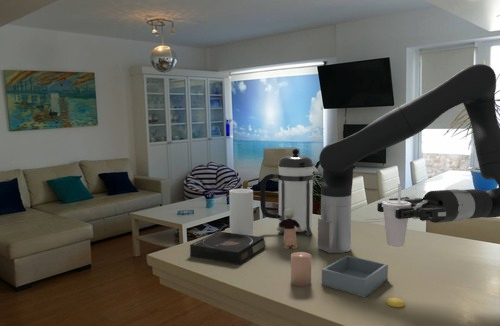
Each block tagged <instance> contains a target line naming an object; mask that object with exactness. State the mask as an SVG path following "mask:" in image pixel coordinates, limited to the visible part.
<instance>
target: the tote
mask: <svg viewBox="0 0 500 326" xmlns="http://www.w3.org/2000/svg"><path fill="white" fill-rule="evenodd" d="M388 272H389V264H388V263H384V262H379V261H375V260H371V259H364V258H361V257H356V256H352V255H345V256H343V257H341V258H339V259H337V260H336V261H334V262H332V263H331V264H329V265H327V266H325V267H323V268H322V269H321V286H324V287H327V288H331V289H335V290H337V291H342V292H345V293H349V294H353V295H357V296H360V297H364V298H366V297H367V296H368V295H370V294H371V293H373V291H375V290H376V289H377V288H379V287H380V286H381V285H384V283H385V282H386V281H388V274H389V273H388Z"/></svg>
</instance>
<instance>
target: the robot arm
mask: <svg viewBox="0 0 500 326" xmlns="http://www.w3.org/2000/svg"><path fill="white" fill-rule="evenodd" d="M496 90H497V75H496V73H495V71H494V69H493V68H492V67H491V66H489V65H487V64H483V63H481V64H480V63H476V64H472V65H469V66H466V67H465V68H463V69H461V70H460V71H458V72H457V73H455V74H454V75H453V76H451V77H450V78H448V79H446V80H445V81H444V82H442V83H441V84H439V85H437V86H435V87H434V88H432V89H430V90H428V91H426V92H425V93H423V94H420V95H418V96H417V97H415V98H413V99H411V100H409V101H407V102H405V103H402V104H401V105H399V106H397V107H396V108H394V109H392V110H389V111H388V112H386V113H385V114H383V115H381V116H379V117H378V118H377V119H375V120H373V121H372V122H370V123H369V124H367V125H366V126H364V128H362V129H360V130H358V131H357V132H355V133H353V134H352V135H349V136H347V137H345V138H342V139H340V140H337V141H334V142H331V143H329V144H327V145H325V146H324V147H323V148H322V150H321V151H320V153H319V156H318V160H319V164H320V168H322V170H323V171H322V181H321V186H320V217H319V218H318V219H317V248H318V249H320V250H321V251H324V252H325V253H326V252H327V253H328V254H334V253H335V254H343V253H347V252H350V251H351V249H352V247H351V245H352V242H351V240H352V197H353V196H352V194H353V193H352V191H353V181H354V180H353V179H354V178H353V177H354V164H356V163H358V162H359V161H360V160H362V159H364V158H366V157H368V156H370V155H372V154H375V153H376V152H379V151H382V150H385V149H387V148H390V147H392V146H395V145H398V144H399V143H402V142H404V141H406V140H408V139H411V137H414V136H415V135H417V134H419V133H421V132H422V131H424V130H425V129H426V128H428V127H429V126H430V125H431V124H432V123H434V122H435V121H436V120H437V119H439V118H440V117H441V116H442V115H443V114H444V113H446V112H448V111H449V110H451V109H453V108H455V107H457V106H460V105H461V104H463V106H464V109H465V110H466V113H467V116H468V118H469V122H470V125H471V130H472V135H473V142H474V149H475V153H476V158H477V159H476V160H477V163H478V168H479V172H480V175H481V177H482V178H483V179H485V180H490V181H493V180H494V181H495V183H496V184H497V186H498V187H497V188H493V189H489V190H483V189H479V188H475V189H474V188H471V189H470V188H469V189H455V188H453V189H443V190H442V189H441V190H430V191H428V192H426V193H425V194H424V196H423V197H422V198H421V197H414V198H410V197H408V196H404V197H401V198H400V201H406V202H410V203H411V208H398V209H396V213H395V217H396V218H397V219H406V218H408V219H412V220H418V219H419V220H420V221H422V222H427V221H429V222H431V223H433V224H438V223H439V224H440V223H450V222H460V221H464V220H468V219H470V220H471V219H478V218H479V219H481V218H488V219H489V218H490V219H491V218H500V124H499V120H498V118H497V111H496V95H495V94H496ZM388 200H398V197H395V198H388ZM382 202H383V201H379V202H377V212H378V213H384V210H383V207H382Z"/></svg>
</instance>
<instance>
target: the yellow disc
mask: <svg viewBox="0 0 500 326" xmlns="http://www.w3.org/2000/svg"><path fill="white" fill-rule="evenodd" d="M386 304H387V305H388V306H390V307H392V308H403V307H404V306H405V300H404V299H402V298H399V297H388V298H387V299H386Z"/></svg>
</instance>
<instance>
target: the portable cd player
mask: <svg viewBox="0 0 500 326" xmlns="http://www.w3.org/2000/svg"><path fill="white" fill-rule="evenodd" d="M189 247H190V248H189V250H190V251H189V252H190V257H193V258H197V259H203V260H209V261H215V262H221V263H226V264H233V265H238V266H239V265H242V264H243V263H244V262H246V261H248V260H249V259H251V258H252V257H253V256H255V255H256V254H258V253H260V252H261V251H263V250H264V249H265V248H266V241H265V238H264V237H263V236H257V235H256V236H255V235H253V236H249V235H242V234H234V233H230V232H225V231H216V232H215V233H212V234H211V235H208V236H207V237H204V238H202V239H199V240H198V241H195V242H194V243H193V242H192V243H190V244H189Z"/></svg>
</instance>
